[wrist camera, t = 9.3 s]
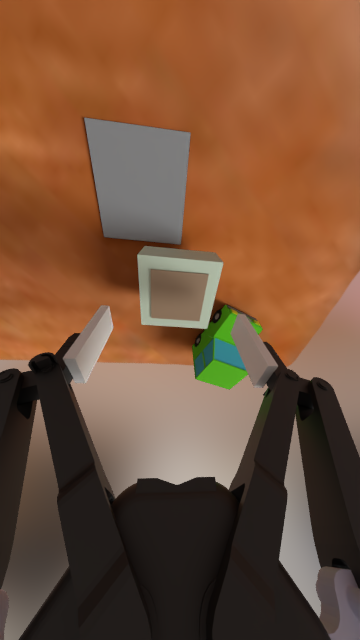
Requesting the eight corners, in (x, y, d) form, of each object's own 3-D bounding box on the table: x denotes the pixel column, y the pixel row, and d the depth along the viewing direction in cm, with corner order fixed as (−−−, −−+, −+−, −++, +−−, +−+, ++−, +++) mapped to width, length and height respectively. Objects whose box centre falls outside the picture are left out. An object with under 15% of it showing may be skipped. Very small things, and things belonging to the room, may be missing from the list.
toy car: (258, 316, 34) (284, 350, 26) (222, 354, 41) (233, 390, 33) (220, 297, 31) (234, 328, 23) (187, 341, 38) (190, 377, 30)
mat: (104, 236, 25) (104, 237, 25) (85, 118, 18) (84, 117, 18) (180, 244, 26) (180, 244, 25) (190, 133, 19) (190, 132, 18)
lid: (146, 307, 28) (141, 325, 24) (144, 245, 22) (136, 255, 18) (203, 311, 28) (207, 329, 24) (215, 252, 23) (223, 263, 18)
